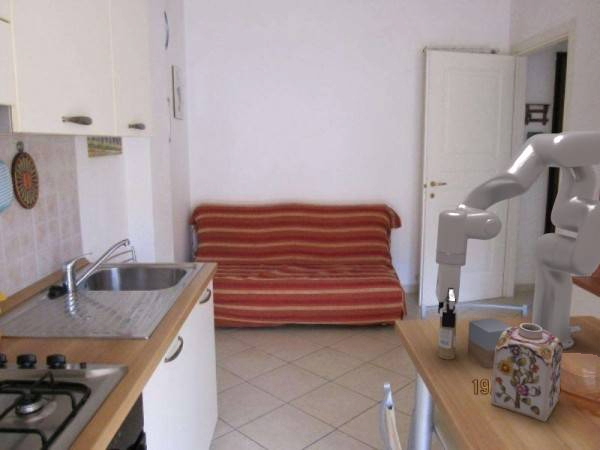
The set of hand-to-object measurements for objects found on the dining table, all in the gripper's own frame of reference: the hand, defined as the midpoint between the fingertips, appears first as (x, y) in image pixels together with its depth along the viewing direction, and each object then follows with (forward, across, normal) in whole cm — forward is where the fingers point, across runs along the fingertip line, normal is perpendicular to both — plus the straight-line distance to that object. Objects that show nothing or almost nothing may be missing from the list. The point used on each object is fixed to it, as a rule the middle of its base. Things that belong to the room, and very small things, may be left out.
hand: (445, 320), depth 132 cm
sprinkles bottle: (+11, 0, +1) cm, 11 cm away
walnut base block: (+10, 0, +12) cm, 16 cm away
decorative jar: (+11, +21, +16) cm, 28 cm away
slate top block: (+5, 0, +12) cm, 13 cm away
